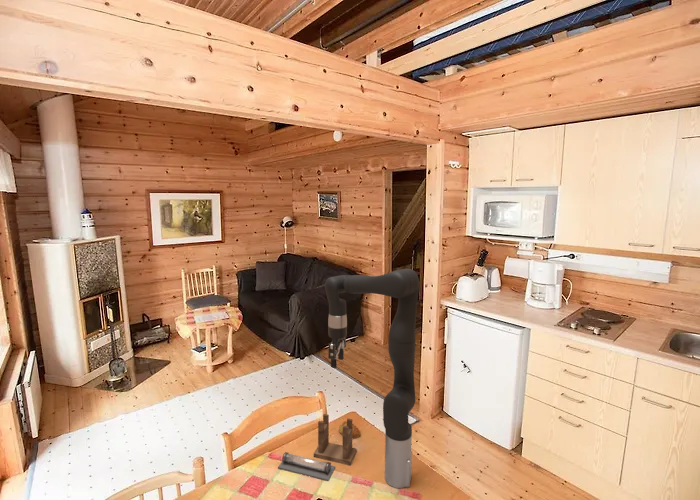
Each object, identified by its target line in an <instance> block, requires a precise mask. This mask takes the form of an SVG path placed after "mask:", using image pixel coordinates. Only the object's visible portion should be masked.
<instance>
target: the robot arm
mask: <svg viewBox="0 0 700 500" xmlns="http://www.w3.org/2000/svg"><path fill="white" fill-rule="evenodd" d="M324 291H325V294H326V295H325V296H326V299H327V302H328V320H327V321H328V323H327V324H328V325H327V326H328V327H327V329H328V332H327V333H328V337H329V338H330V339H332V340H331V342H330V343H328V359H329V360H330V368H333V369H336V368H337V366H338V365H337V364H338V363H337V362H338V360H340V361H343V360H344V357H345V355H344V354H345V353H344V352H345V348H346V347H347V344H346V343H347V341H346V340H347V337H348V336H347V335H348V331H347V330H348V317H347V316H348V315H347V301H346V300H345V299H344V298H340V297H339V294H345V293H348V294H353V295H354V294H355V295H356V294H357V295H362V294H363V295H364V294H375V295H381V296H387V297H391V298H395V299H398V303H397V310H396V312H395V315H394V318H393V320H392V322H391V325H390V328H389V330H388V349H387V350H388V355H389V359H390V361H391V364H392V368H393V373H394V374H393V375H394V376H393V385H392V388H391V390H390V391H389V392H388V393H387V394H386V395H385V396H384V399H383V403H382V412H383V413H382V417H383V418H382V419H383V427H384V429H385V437H384V438H385V439H384V440H385V441H384V443H385V445H384V480H385V482H386V483H387V485H389V486H391V487H392V488H394V489H395V488H396V489H397V488H398V489H403V488H410V485H411V479H412V473H413V471H412V470H413V469H412V468H413V466H412V465H413V451H412V439H413V435H412V434H413V433H412V432H413V431H412V430H413V427H412V425H411V424H410V422H409V413H411V411H412V409H414V407H415V404H416V389H415V388H416V387H415V375H414V374H415V362H416V361H415V360H416V359H415V356H416V322H417V309H418V308H417V306H418V299H419V291H420V279H419V275H418V274H417V272H416V271H415V270H413V269H412V268H402V269H397V270H393V271H391V272H387V273H385V274H380V275H368V274H367V275H366V274H353V275H349V274H348V275H347V274H342V275H335V276H330V277H328V278H327V279H326V280H325V283H324Z"/></svg>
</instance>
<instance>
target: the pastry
mask: <svg viewBox="0 0 700 500" xmlns="http://www.w3.org/2000/svg"><path fill="white" fill-rule="evenodd" d="M343 426H347V420H345V421H342V422H341V423H340V425H339V426H338V427H339V428H338V432H339V433H340V434H341V435H342V436H343ZM360 436H361V431H360V429H359V428H358V427H357V426H356V425H355V424H354V423H353V422H352V439H358V438H359V437H360Z"/></svg>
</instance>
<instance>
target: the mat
mask: <svg viewBox="0 0 700 500" xmlns="http://www.w3.org/2000/svg"><path fill="white" fill-rule="evenodd" d="M277 469H278V470H283V471H287V472H289V473H294V474H298V475H301V474H302V475H301V476H305V475H306V477H309V476H310V478H313V479H318V480H321V481H326V482H329V481H330V479H331V477H332V475H333V473H334V470H335V469H336V466H335V465H331V469H330V472H329V473H325V472H323V471H319V470H315V469H311V468H307V467H303V466H299V465H295V464H291V463H287V462H286V463H284V462H282V461H281V462H280V464H278V466H277Z"/></svg>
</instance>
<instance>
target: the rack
mask: <svg viewBox="0 0 700 500" xmlns="http://www.w3.org/2000/svg"><path fill="white" fill-rule="evenodd" d="M322 417H323V418H322V420H318V421H317V422H318V423H317V424H318V425H317V431H318V432H317V435H318V436H317V437H318V438H317V439H318V441H317V442H318V443H317V444H318V445H317V447H316V449H315V450H314V452H313V457H314V458H317V459H322V460H324V461H328V462H329V461H330V462H334V463H338V464H343V465H347V466H352V463H353V461H354V459H355V456H356V454H357V452H358V451H357V448H355V447H353V438H352V423H353V418H347V419H346V422H347V426H343V435H342V445H341V444H338V443H333V442H329V439H330V438H329V436H330V435H329V433H330V431H329V429H330V428H329V427H330V426H329V425H330V423H329V419H330V418H329V417H330V415H329V414H327V413H323V415H322Z"/></svg>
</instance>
